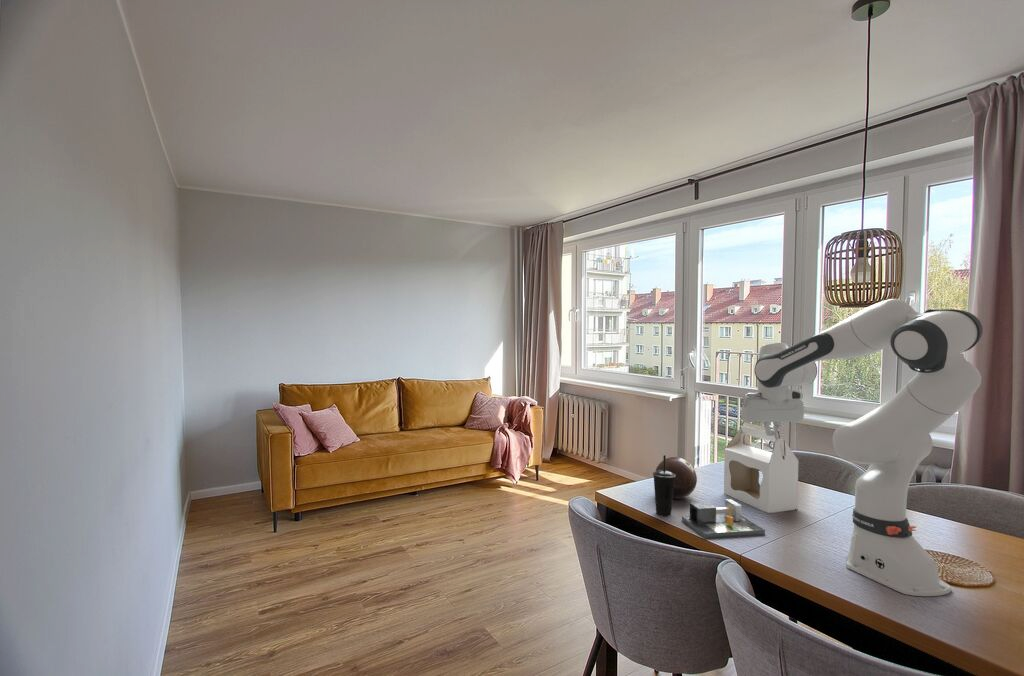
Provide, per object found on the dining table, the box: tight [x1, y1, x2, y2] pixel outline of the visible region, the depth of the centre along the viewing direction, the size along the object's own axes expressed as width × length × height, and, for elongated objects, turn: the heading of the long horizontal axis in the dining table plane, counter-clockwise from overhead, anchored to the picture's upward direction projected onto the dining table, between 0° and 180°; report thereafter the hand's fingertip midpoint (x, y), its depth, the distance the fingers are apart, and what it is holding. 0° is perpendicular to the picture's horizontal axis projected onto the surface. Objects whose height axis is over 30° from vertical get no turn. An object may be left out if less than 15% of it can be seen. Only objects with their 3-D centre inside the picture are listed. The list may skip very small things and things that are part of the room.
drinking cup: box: [652, 454, 676, 517], centre depth 171 cm, size 8×8×20 cm
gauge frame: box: [681, 501, 766, 540], centre depth 160 cm, size 14×20×6 cm
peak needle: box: [726, 505, 733, 526], centre depth 157 cm, size 2×1×6 cm, turn 9°
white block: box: [716, 498, 746, 524], centre depth 162 cm, size 9×10×5 cm
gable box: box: [723, 421, 799, 514], centre depth 185 cm, size 22×13×28 cm, turn 18°
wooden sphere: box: [655, 456, 698, 500], centre depth 188 cm, size 15×15×15 cm
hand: (771, 435), depth 162 cm, fingers closed
